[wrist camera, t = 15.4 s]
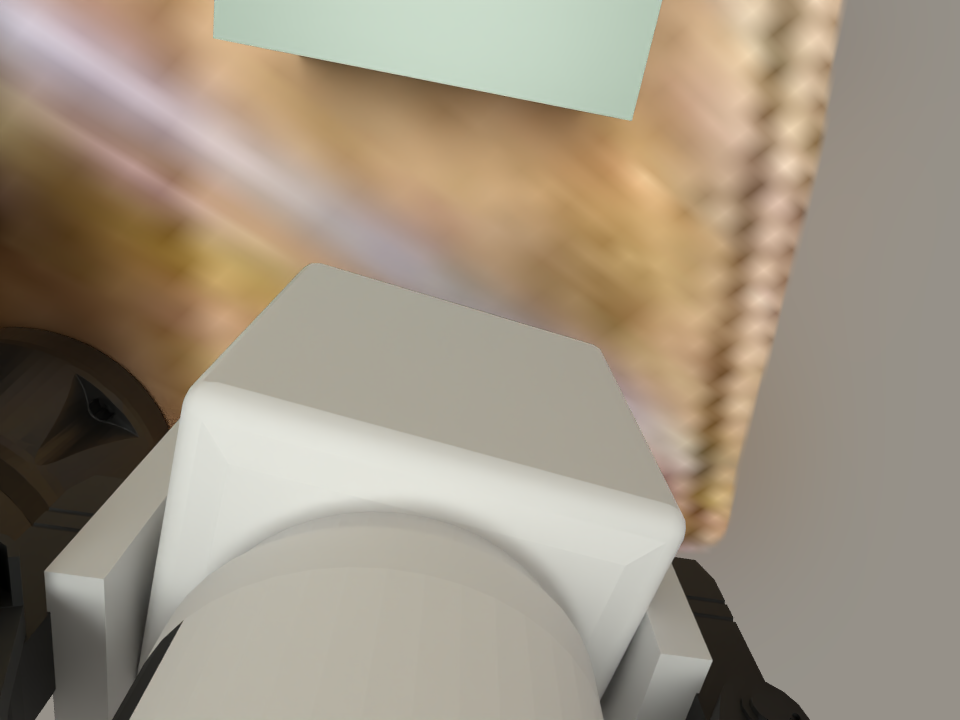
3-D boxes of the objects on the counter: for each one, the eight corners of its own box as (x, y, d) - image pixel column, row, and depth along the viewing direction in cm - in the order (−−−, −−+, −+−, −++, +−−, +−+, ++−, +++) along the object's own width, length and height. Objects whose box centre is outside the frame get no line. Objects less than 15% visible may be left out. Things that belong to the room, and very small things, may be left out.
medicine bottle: (509, 576, 18) (568, 1331, 7) (250, 511, 17) (-143, 1257, 6) (605, 343, 16) (925, 951, 5) (307, 254, 15) (-179, 740, 4)
